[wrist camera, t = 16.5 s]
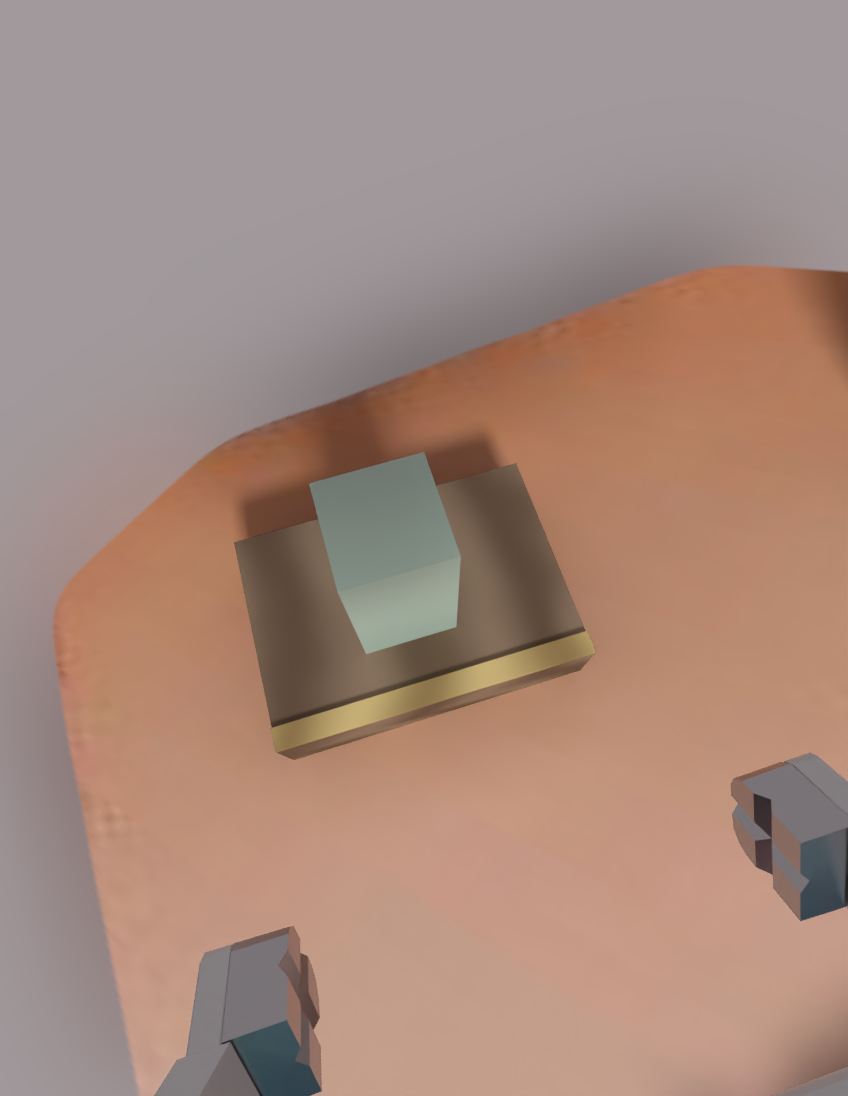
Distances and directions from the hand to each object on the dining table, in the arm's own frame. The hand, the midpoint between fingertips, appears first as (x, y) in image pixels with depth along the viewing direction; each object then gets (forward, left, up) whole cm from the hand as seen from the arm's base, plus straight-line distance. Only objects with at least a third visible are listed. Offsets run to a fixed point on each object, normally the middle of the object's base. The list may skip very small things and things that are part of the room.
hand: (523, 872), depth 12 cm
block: (0, -13, -21) cm, 24 cm away
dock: (0, -13, -25) cm, 28 cm away
